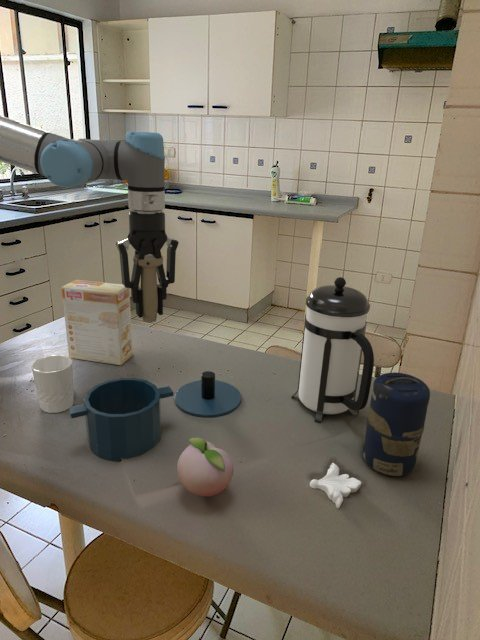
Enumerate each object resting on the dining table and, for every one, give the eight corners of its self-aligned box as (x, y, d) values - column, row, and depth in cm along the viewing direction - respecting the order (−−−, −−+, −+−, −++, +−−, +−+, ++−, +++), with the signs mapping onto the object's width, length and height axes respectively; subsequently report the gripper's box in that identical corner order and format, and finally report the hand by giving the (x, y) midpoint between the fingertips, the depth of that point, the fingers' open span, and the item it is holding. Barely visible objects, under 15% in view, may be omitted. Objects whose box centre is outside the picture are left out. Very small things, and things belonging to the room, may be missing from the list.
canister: (418, 484, 81) (438, 395, 74) (362, 476, 82) (378, 388, 76) (409, 450, 90) (427, 368, 83) (359, 443, 91) (372, 362, 84)
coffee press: (279, 416, 99) (290, 282, 87) (303, 384, 112) (315, 263, 101) (360, 440, 92) (384, 298, 81) (375, 402, 105) (397, 276, 94)
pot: (68, 430, 91) (63, 388, 88) (161, 409, 100) (160, 370, 96) (80, 473, 80) (75, 427, 77) (183, 445, 88) (183, 402, 85)
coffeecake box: (133, 354, 123) (130, 284, 116) (121, 366, 117) (116, 293, 109) (82, 347, 126) (76, 278, 119) (68, 358, 120) (60, 286, 112)
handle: (136, 316, 108) (133, 254, 103) (163, 316, 109) (163, 254, 104) (134, 324, 104) (132, 259, 98) (163, 324, 105) (163, 260, 99)
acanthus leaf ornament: (331, 467, 84) (333, 459, 84) (364, 488, 80) (365, 479, 79) (305, 486, 79) (306, 477, 79) (338, 509, 75) (340, 500, 74)
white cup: (41, 418, 95) (35, 375, 91) (34, 400, 101) (28, 359, 97) (81, 408, 99) (76, 367, 95) (71, 391, 105) (67, 352, 101)
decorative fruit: (166, 492, 77) (164, 442, 73) (201, 468, 83) (201, 420, 79) (206, 522, 71) (207, 470, 67) (241, 494, 77) (243, 444, 73)
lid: (165, 391, 106) (164, 365, 104) (223, 379, 113) (224, 354, 110) (188, 426, 94) (188, 398, 92) (252, 410, 101) (254, 383, 98)
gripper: (109, 215, 91) (116, 325, 99) (191, 212, 98) (190, 315, 107) (101, 208, 97) (108, 313, 105) (179, 207, 104) (179, 304, 113)
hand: (149, 314), depth 106 cm, fingers closed on handle, 4 cm apart
